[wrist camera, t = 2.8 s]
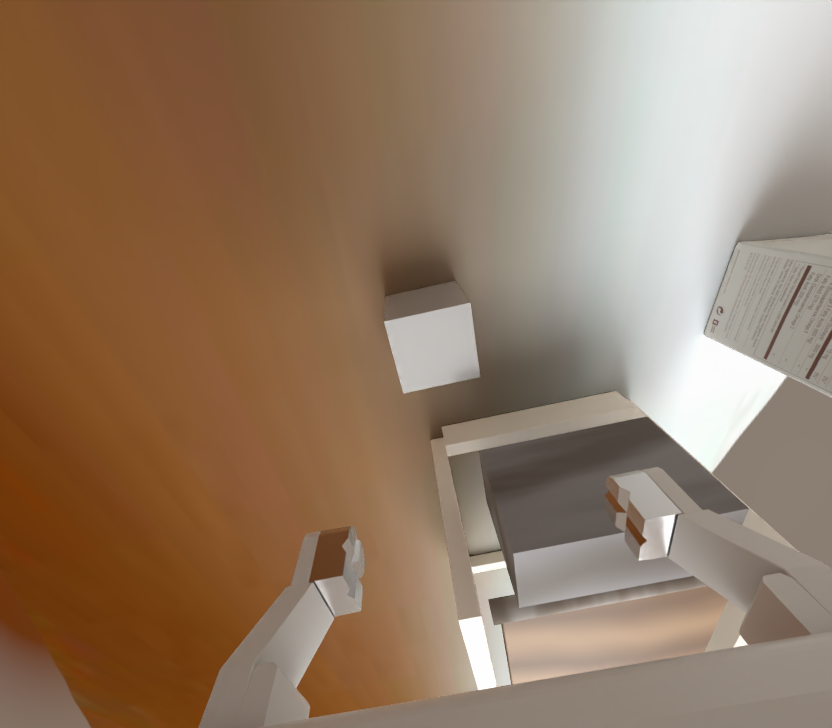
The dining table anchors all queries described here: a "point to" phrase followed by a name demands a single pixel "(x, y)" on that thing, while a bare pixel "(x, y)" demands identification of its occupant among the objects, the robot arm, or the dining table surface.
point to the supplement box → (779, 307)
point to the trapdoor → (593, 554)
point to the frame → (462, 566)
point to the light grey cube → (431, 336)
